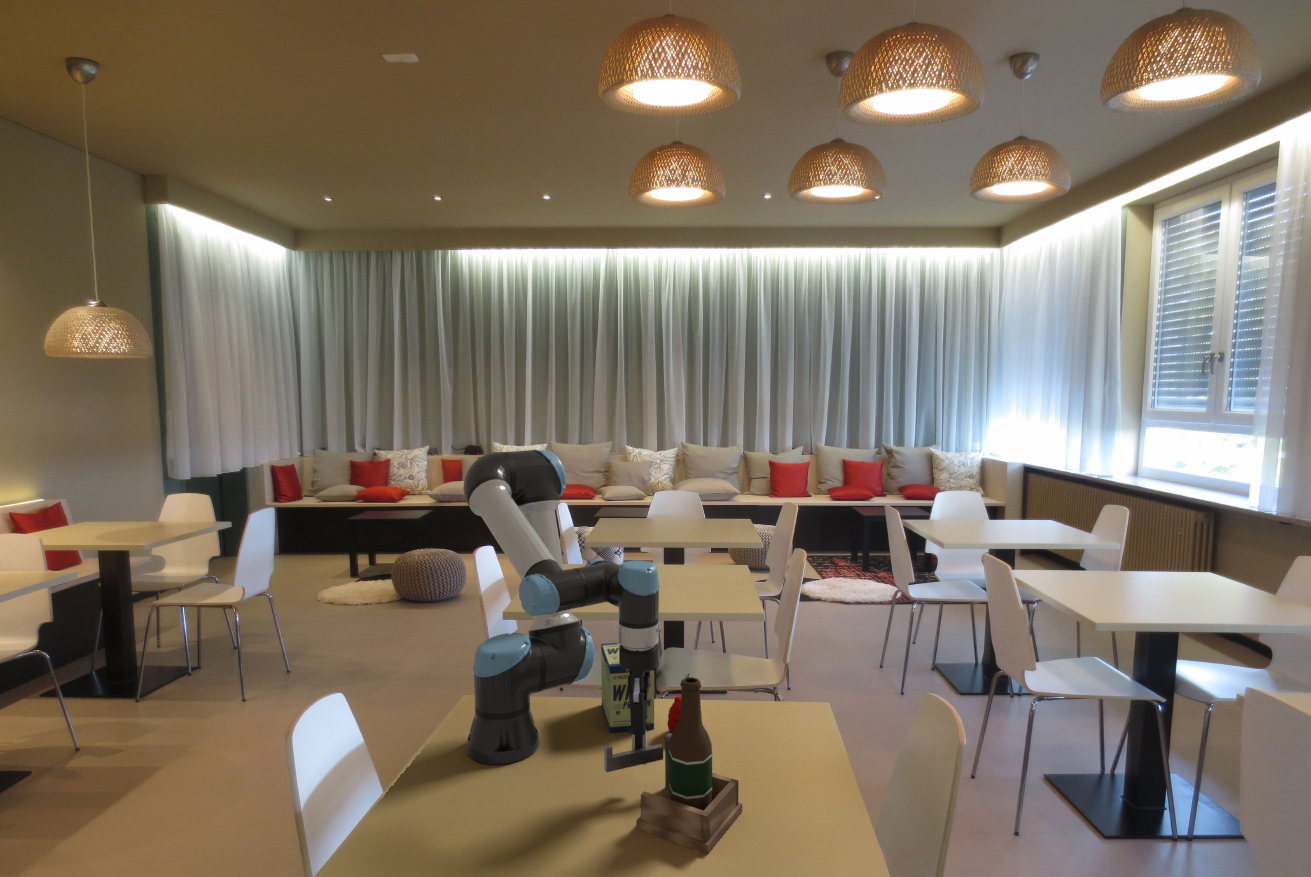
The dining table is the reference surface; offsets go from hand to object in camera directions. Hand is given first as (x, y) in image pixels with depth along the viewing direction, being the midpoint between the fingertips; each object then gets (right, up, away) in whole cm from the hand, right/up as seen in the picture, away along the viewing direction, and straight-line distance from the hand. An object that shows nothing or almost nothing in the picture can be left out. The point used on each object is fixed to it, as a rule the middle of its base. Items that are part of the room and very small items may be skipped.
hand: (639, 762), depth 138 cm
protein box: (-4, -4, +31) cm, 32 cm away
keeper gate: (-1, +1, -3) cm, 4 cm away
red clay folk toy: (+10, -4, +22) cm, 25 cm away
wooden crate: (+9, -6, -9) cm, 14 cm away
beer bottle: (+9, -4, -10) cm, 14 cm away
